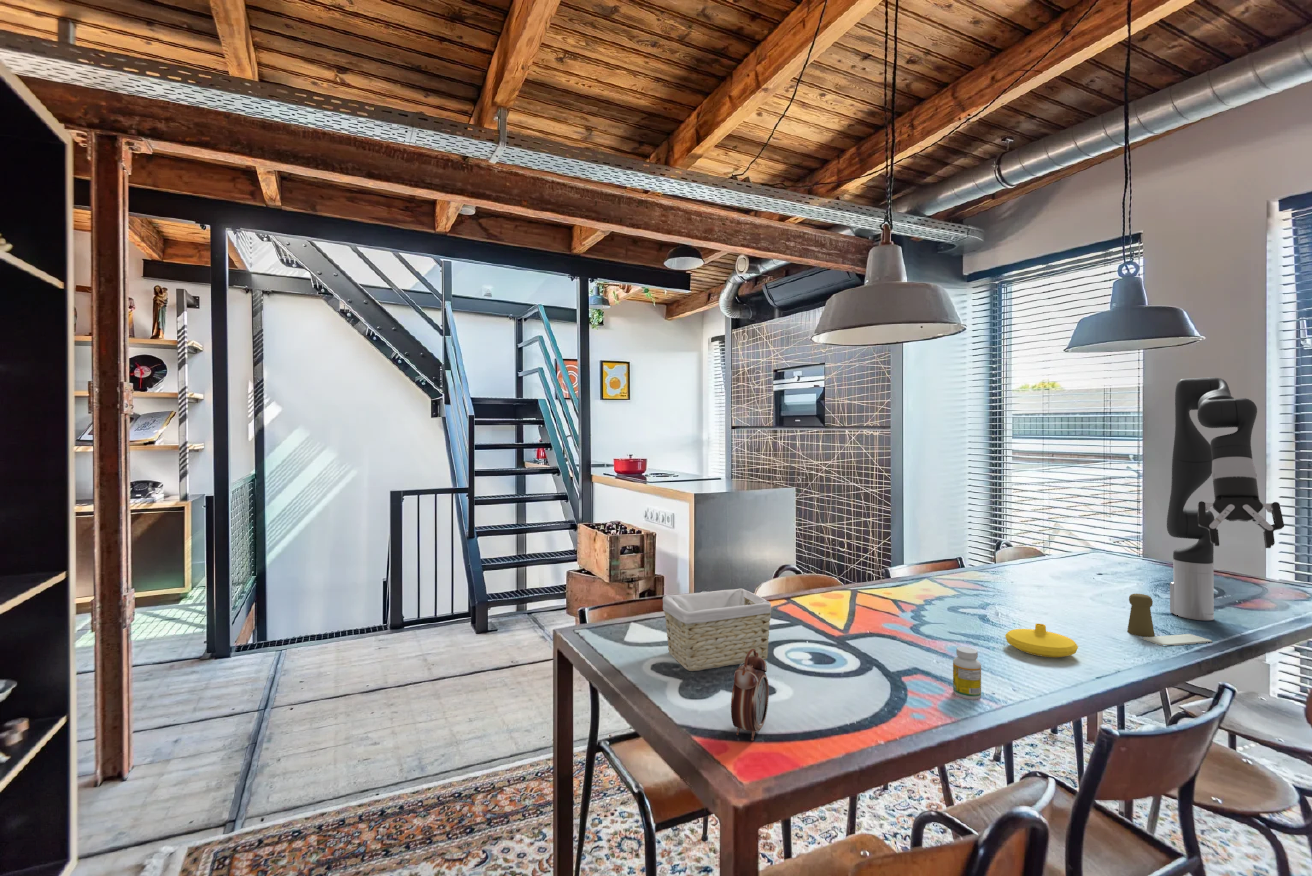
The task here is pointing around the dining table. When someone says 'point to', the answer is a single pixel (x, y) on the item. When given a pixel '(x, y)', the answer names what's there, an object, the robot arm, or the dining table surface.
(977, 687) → the supplement bottle
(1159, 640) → the pad
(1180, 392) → the robot arm
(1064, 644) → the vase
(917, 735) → the dining table surface
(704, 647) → the storage basket
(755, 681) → the alarm clock
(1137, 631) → the cork
